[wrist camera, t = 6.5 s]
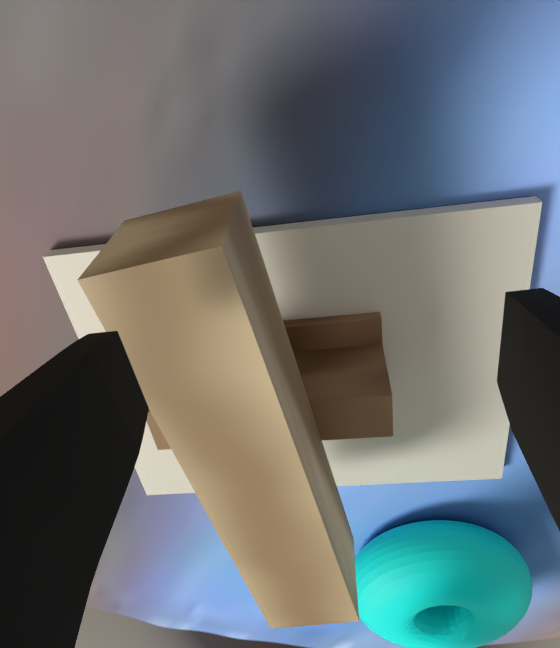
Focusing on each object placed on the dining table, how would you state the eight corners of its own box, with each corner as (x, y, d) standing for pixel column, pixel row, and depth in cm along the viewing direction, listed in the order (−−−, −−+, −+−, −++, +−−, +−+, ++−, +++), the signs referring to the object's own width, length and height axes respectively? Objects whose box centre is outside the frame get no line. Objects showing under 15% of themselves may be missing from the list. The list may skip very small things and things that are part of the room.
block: (380, 311, 20) (391, 368, 17) (383, 396, 22) (393, 458, 19) (158, 331, 21) (133, 387, 18) (184, 409, 23) (166, 470, 20)
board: (535, 196, 18) (542, 202, 17) (498, 468, 25) (501, 478, 25) (49, 249, 20) (42, 256, 19) (150, 485, 27) (147, 495, 27)
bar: (240, 190, 14) (221, 246, 11) (353, 537, 22) (359, 621, 19) (124, 220, 14) (76, 280, 12) (275, 546, 23) (270, 628, 20)
